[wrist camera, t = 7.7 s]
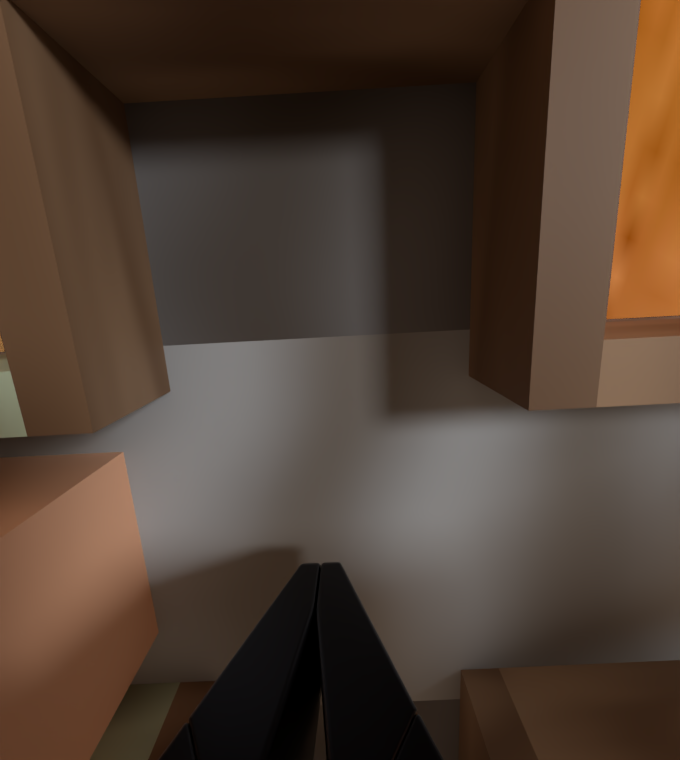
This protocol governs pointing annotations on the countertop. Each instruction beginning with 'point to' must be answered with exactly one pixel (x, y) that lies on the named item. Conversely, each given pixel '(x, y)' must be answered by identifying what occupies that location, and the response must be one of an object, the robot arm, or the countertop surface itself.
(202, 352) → the trap lane
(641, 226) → the countertop surface
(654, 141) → the countertop surface
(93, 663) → the block
